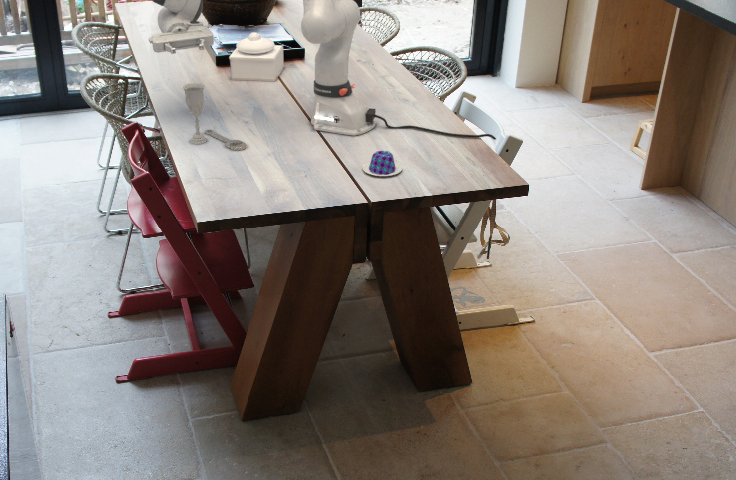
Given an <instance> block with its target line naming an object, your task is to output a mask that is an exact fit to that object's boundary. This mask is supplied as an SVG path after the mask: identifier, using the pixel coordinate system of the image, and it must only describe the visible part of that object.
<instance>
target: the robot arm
mask: <svg viewBox="0 0 736 480" xmlns="http://www.w3.org/2000/svg"><path fill="white" fill-rule="evenodd" d="M151 1H152V2H153V3H154V4H156V5H159V6H161V7H162V8H161V9H160V10H159V12H158V14H157V25H158V27H159V30H160V32H161V33H155V34H152V35H151V37H149V38H148V42H149V43H150V44H152V50H153V52H154V53H164V52H166V53H170V54H171V55H175V54H177V51H180V50H188V49H196V48H198V50H199V51H204V50H205V47H210V46H213V45H214V44H215V37H214V34H213V32H212V30H211V29H210V28H208V26H206V25H204V22H203V21H201V20H200V21H199V18H200V17H201V15H202V13H203V9H204V3H203V0H151ZM302 3H303V5H302V6H303V14H302V15H303V16H302V20H301V23H300V30H301V33H302V36H303V37H304V39H305V40H306V41H307V42H308V43H310V44H313V45H319V47H318V50H317V51H316V54H315V56H314V80H313V94H314V101H313V108H312V115H311V119H310V124H311V125H312V126H313V130H314V131H319V132H326V133H332V134H340V135H345V136H346V135H347V136H351V137H352V136H354V137H355V136H359V135H363V134H366V133H367V132H369V131H372V130H373V129H374V128H375V126H376V125H377V124H376V121H375V118H377V119H379V120H382V121H383V123H384V125H385V126H386V128H388V129H393V130H400V129H402V130H403V129H415V130H419V131H423V132H429V133H434V134H439V135H444V136H449V137H458V138H475V139H476V138H484V137H487V138H491V139H492V140H493V141H494V140H497V137H495V136H494V135H493V134H490V133H483V134H463V133H462V134H461V133H452V132H446V131H440V130H435V129H431V128H427V127H423V126H416V125H401V126H400V125H399V126H392V125H389V123H388V121H387V119H386V118H384V117H383V116H381V115H378V114H376V113H377V111H376V108H371V107H370V108H368V107H367V105H366V104H365V103H364V102H363V101H362V100H360V98H358V96H356V95H355V93H354V92H353V89H354V88H355V85H356V84H354V83H353V84H351V82H350V80H349V58H350V50H351V47H352V42H353V38H354V34H355V31H356V28H357V26H358V24H359V22H360V20H361V9H360V7H359V5H358V3H357V2H356V1H355V0H302ZM492 237H493V235H490V236H489V237H488V243H487V251H486V254H487V255H486V260H490V253H491V244H492Z"/></svg>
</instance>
